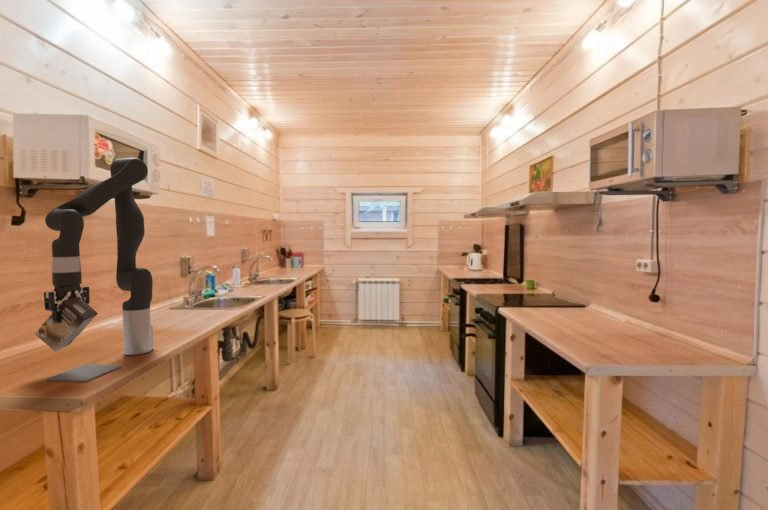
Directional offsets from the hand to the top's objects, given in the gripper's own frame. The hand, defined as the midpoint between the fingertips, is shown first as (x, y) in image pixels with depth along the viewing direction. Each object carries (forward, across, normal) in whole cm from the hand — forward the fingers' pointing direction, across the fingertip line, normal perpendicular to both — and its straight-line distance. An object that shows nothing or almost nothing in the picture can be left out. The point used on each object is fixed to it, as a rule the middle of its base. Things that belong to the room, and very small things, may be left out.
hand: (68, 320), depth 129 cm
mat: (+18, +1, -4) cm, 19 cm away
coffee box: (+7, 0, +7) cm, 10 cm away
